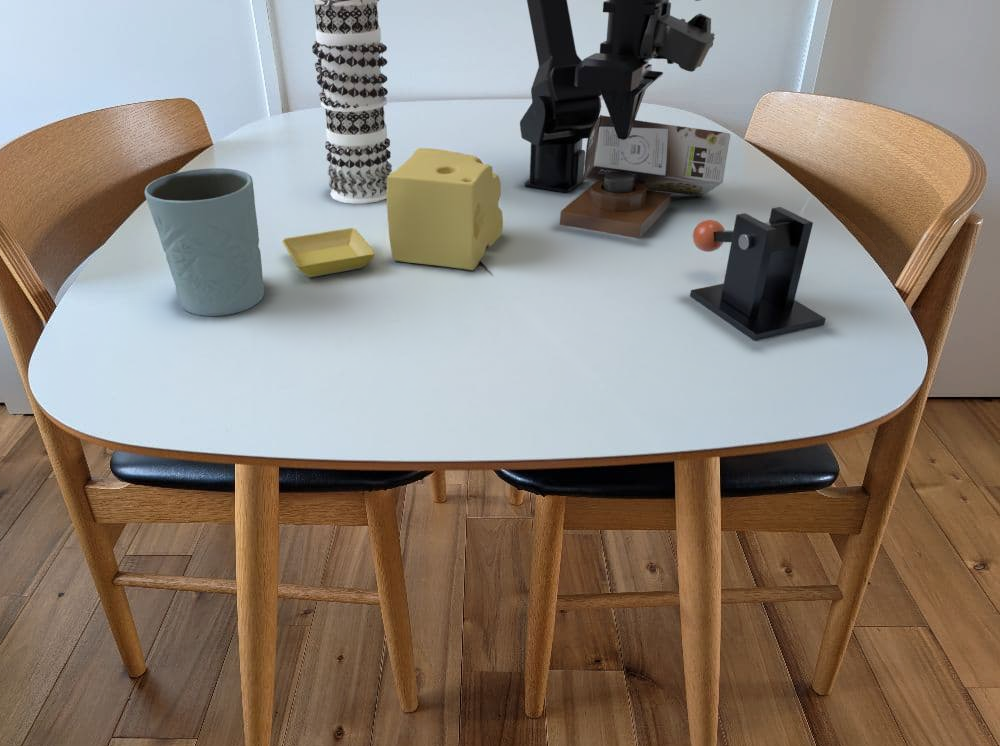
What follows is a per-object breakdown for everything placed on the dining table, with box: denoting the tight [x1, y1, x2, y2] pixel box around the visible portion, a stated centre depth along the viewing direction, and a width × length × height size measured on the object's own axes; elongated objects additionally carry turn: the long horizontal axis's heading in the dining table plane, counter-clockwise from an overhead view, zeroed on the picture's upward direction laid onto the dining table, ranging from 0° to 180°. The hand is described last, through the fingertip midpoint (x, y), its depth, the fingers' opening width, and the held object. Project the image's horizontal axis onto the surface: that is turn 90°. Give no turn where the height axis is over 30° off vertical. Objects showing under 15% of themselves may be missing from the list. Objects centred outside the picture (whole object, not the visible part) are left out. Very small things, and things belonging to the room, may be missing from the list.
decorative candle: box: [311, 0, 393, 205], centre depth 102 cm, size 9×9×25 cm
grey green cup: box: [144, 167, 265, 317], centre depth 80 cm, size 10×10×12 cm
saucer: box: [281, 227, 376, 278], centre depth 89 cm, size 9×9×2 cm
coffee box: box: [582, 114, 731, 197], centre depth 101 cm, size 9×6×16 cm
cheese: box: [386, 147, 504, 271], centre depth 90 cm, size 10×11×10 cm
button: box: [603, 172, 635, 194], centre depth 97 cm, size 4×4×2 cm
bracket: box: [689, 206, 827, 342], centre depth 75 cm, size 10×8×10 cm
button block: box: [559, 180, 672, 239], centre depth 99 cm, size 10×12×4 cm
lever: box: [692, 219, 791, 253], centre depth 78 cm, size 12×3×3 cm, turn 22°
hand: (623, 138), depth 94 cm, fingers closed
